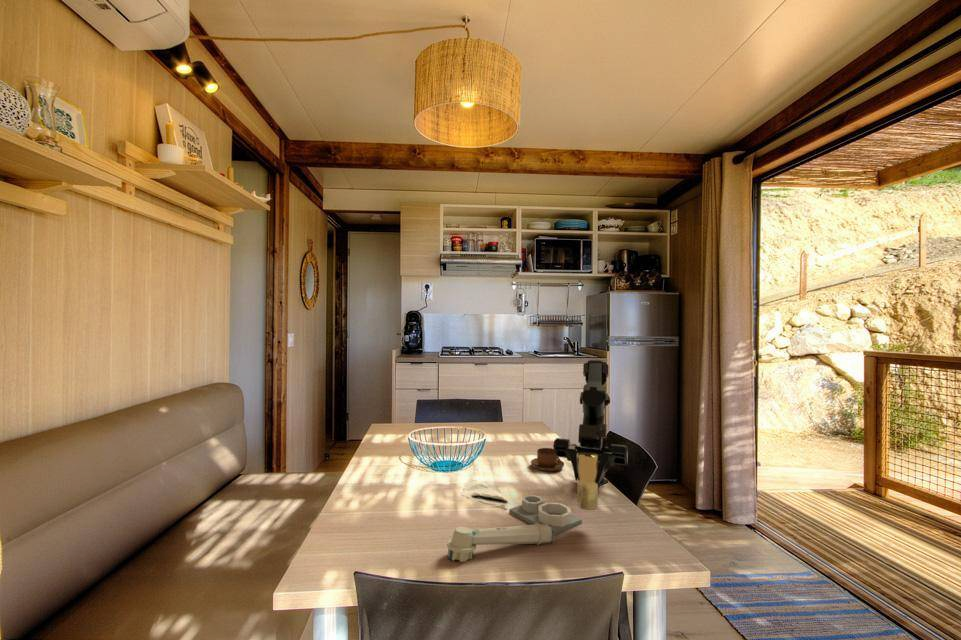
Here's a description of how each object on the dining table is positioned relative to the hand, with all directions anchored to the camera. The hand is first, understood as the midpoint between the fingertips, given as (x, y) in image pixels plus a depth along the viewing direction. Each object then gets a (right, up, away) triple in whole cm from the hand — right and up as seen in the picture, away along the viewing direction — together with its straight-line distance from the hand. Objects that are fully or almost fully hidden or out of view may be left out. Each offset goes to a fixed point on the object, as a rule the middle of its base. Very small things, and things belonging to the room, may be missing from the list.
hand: (586, 481), depth 108 cm
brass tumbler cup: (+1, -7, +1) cm, 7 cm away
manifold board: (-10, -12, +7) cm, 17 cm away
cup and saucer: (-2, -13, +48) cm, 49 cm away
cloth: (-26, -13, +23) cm, 37 cm away
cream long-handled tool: (-22, -12, -9) cm, 27 cm away
